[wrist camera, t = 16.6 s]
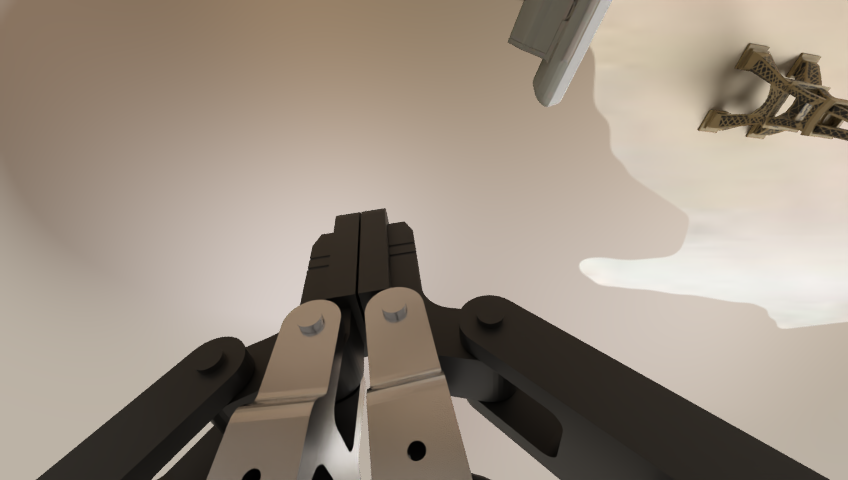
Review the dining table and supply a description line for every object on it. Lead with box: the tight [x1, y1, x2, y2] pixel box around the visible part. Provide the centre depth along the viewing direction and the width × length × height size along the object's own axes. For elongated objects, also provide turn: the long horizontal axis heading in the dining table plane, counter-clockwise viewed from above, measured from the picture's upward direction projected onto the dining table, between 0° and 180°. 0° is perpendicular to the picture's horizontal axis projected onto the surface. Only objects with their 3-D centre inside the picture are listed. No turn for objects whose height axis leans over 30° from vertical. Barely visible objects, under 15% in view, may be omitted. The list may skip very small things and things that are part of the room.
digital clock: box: [508, 0, 612, 107], centre depth 35 cm, size 16×9×11 cm, turn 151°
